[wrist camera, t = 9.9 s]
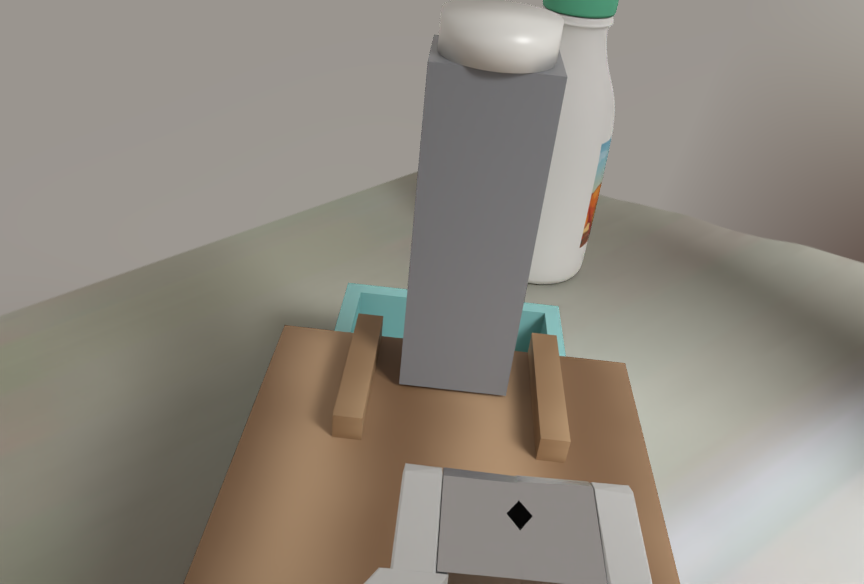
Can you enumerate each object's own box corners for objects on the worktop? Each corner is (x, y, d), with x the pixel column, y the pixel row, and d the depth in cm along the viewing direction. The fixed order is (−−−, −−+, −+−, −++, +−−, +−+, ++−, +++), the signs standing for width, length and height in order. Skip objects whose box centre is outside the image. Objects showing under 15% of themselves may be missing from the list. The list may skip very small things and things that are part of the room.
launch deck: (576, 524, 36) (630, 343, 30) (619, 872, 24) (723, 688, 18) (288, 492, 36) (284, 305, 30) (191, 823, 24) (153, 624, 18)
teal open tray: (539, 389, 44) (558, 306, 41) (551, 522, 36) (576, 431, 33) (345, 367, 44) (348, 282, 41) (312, 495, 36) (313, 401, 33)
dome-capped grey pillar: (504, 342, 30) (565, 7, 23) (506, 401, 27) (577, 36, 20) (406, 331, 30) (438, -7, 23) (398, 389, 27) (430, 20, 20)
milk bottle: (557, 300, 52) (623, 4, 42) (462, 263, 55) (500, -22, 45) (595, 256, 58) (662, -14, 47) (507, 225, 61) (551, -36, 50)
